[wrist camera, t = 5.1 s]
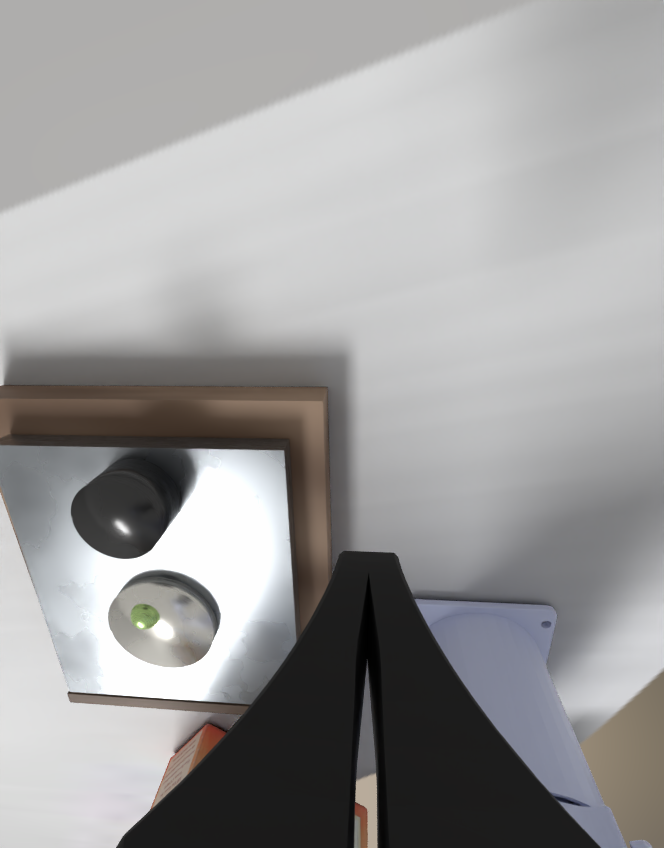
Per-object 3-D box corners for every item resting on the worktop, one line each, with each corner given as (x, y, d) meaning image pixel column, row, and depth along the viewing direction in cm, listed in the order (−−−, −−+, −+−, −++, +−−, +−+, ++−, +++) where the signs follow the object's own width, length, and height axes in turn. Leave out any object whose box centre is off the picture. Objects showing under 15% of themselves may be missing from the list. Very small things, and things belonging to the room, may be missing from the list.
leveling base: (334, 668, 26) (329, 721, 23) (87, 653, 28) (53, 701, 25) (327, 387, 20) (319, 411, 17) (2, 385, 21) (-58, 407, 18)
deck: (303, 687, 24) (294, 747, 21) (82, 672, 25) (44, 728, 22) (289, 438, 19) (273, 473, 16) (8, 434, 20) (-57, 465, 17)
